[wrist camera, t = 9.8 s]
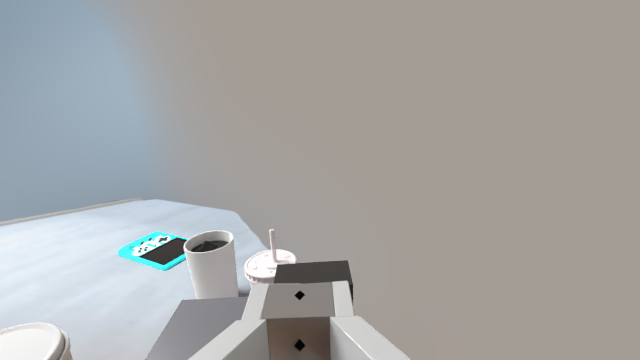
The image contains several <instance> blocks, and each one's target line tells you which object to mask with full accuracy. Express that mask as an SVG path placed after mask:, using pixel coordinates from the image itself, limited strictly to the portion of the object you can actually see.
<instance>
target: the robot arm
mask: <svg viewBox="0 0 640 360" xmlns="http://www.w3.org/2000/svg"><path fill="white" fill-rule="evenodd" d="M188 360H411V359H409V358H408V357H407V356H406V355H405V354H403V353H402V352H401V351H400V350H399V349H398V348H397V347H395V346H394V345H393V344H392V343H391V342H390V341H388V340H387V339H386V338H385V337H384V336H382V335H381V334H380V333H379V332H378V331H377V330H376V329H374V328H373V327H372V326H371V325H370V324H369V323H367V322H366V321H365V320H364V319H363V318H361V317H360V316H355V314H354V308H353V303H352V298H351V292H350V287H349V282H348V281H335V282H323V283H303V284H301V283H274V284H254V285H253V286H252V287H251V291H250V294H249V297H248V300H247V303H246V307H245V310H244V313H243V316H242V319H241V320H236V321H235V322H234V323H233V324H231V325H230V326H229V327H228V328H226V329H225V330H224V331H223V332H221V333H220V334H219V335H218V336H216V337H215V338H214V339H213V340H212V341H210V342H209V343H208V344H207V345H205V346H204V347H203V348H202V349H200V350H199V351H198V352H197V353H196V354H194V355H193V356H192V357H191V358H189V359H188Z"/></svg>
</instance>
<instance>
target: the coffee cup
mask: <svg viewBox="0 0 640 360" xmlns="http://www.w3.org/2000/svg"><path fill="white" fill-rule="evenodd" d="M0 360H72V356H71V353H70V340H69V337H68V335H67V334H66V333H65V332H64V331H63V330H61V329H59V328H58V327H57V326H55V325H53V324H49V323H28V324H22V325H17V326H13V327H9V328H6V329H3V330H0Z"/></svg>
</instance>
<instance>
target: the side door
mask: <svg viewBox="0 0 640 360" xmlns="http://www.w3.org/2000/svg"><path fill="white" fill-rule="evenodd" d="M335 281H348V282H349V287H350V292H351V298H352V303H353V283H352V279H351V274H350V269H349V265H348V261H329V262H312V263H295V264H278V265H277V268H276V273H275V278H274V283H301V284H303V283H323V282H335ZM274 283H273V284H274Z"/></svg>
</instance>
